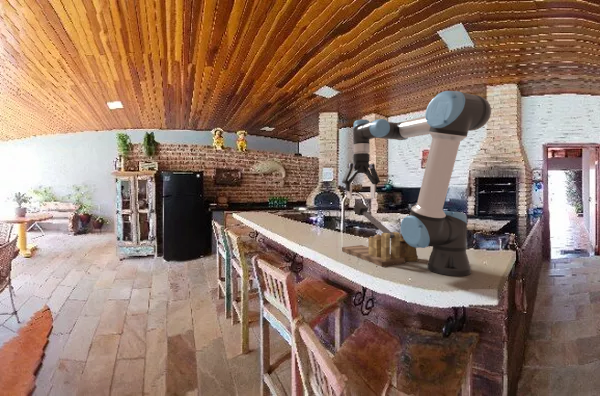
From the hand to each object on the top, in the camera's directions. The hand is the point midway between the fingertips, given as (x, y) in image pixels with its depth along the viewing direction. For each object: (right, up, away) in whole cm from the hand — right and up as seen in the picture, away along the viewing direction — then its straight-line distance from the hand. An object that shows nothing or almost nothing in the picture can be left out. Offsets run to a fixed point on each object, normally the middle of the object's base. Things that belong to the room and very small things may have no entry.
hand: (361, 198), depth 143 cm
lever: (+3, -12, -7) cm, 14 cm away
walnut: (+5, -20, -10) cm, 23 cm away
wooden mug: (+20, -27, -9) cm, 35 cm away
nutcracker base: (+3, -27, -5) cm, 28 cm away
